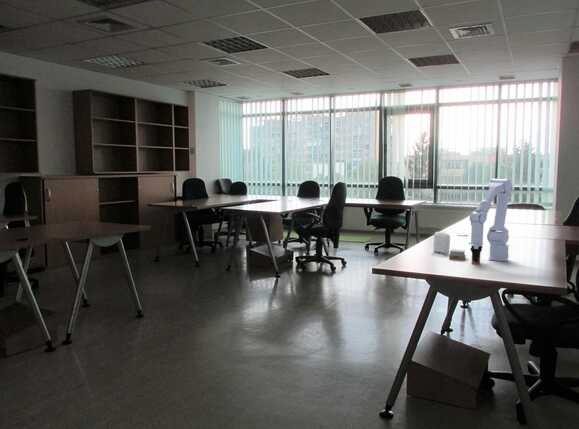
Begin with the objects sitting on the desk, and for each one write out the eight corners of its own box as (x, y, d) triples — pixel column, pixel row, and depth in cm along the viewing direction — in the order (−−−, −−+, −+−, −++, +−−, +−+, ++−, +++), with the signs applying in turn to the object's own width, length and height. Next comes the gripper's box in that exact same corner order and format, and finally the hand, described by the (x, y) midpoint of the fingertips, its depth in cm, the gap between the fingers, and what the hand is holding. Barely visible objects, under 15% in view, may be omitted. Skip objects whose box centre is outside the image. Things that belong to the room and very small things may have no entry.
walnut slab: (465, 258, 267) (465, 254, 266) (464, 261, 259) (464, 256, 259) (450, 257, 270) (450, 253, 270) (449, 260, 262) (449, 255, 262)
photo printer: (450, 253, 280) (451, 232, 278) (445, 254, 278) (446, 233, 276) (437, 250, 289) (438, 230, 287) (432, 251, 287) (432, 230, 285)
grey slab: (464, 254, 266) (464, 250, 266) (463, 256, 260) (463, 252, 260) (451, 253, 269) (451, 249, 269) (450, 255, 263) (450, 250, 262)
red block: (479, 263, 252) (480, 253, 252) (479, 264, 249) (480, 254, 248) (471, 262, 254) (472, 253, 254) (471, 263, 250) (472, 254, 250)
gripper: (469, 232, 258) (468, 257, 259) (468, 236, 245) (467, 262, 246) (483, 233, 255) (482, 258, 257) (483, 236, 242) (481, 263, 243)
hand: (475, 260), depth 251 cm, fingers open, 7 cm apart
